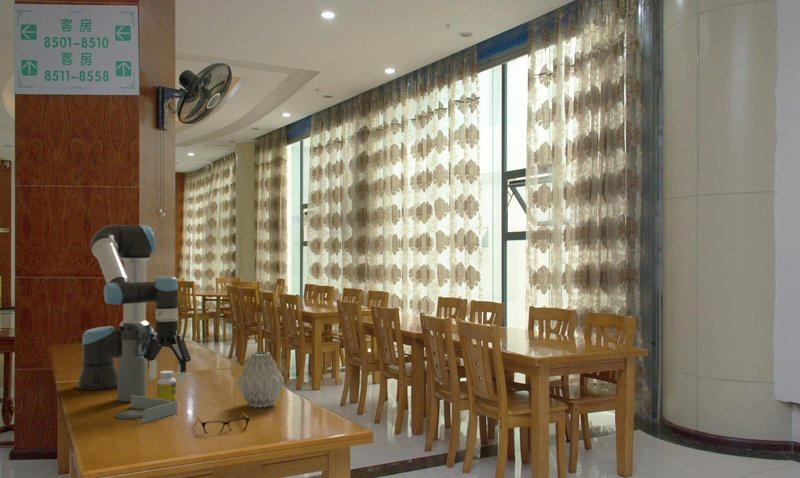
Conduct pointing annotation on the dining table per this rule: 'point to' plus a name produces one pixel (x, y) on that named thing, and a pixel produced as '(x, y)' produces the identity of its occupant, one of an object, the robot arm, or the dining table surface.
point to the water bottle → (132, 363)
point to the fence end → (159, 412)
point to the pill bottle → (166, 386)
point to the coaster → (130, 414)
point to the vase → (260, 380)
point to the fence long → (147, 402)
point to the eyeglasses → (224, 422)
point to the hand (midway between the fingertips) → (167, 380)
